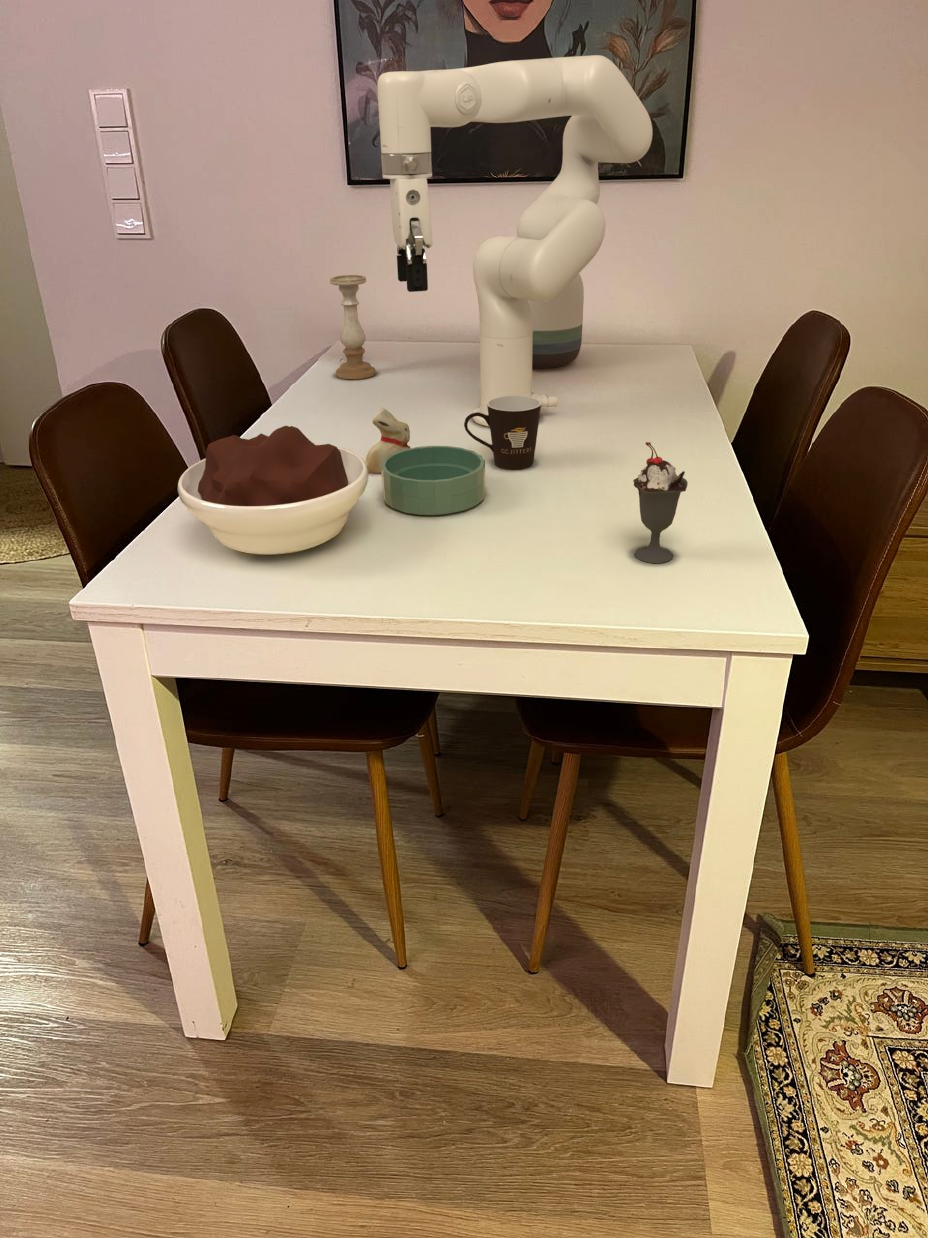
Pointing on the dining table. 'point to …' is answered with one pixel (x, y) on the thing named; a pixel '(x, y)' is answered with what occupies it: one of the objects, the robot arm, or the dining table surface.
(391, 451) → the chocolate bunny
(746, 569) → the dining table surface
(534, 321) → the vase
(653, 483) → the sundae
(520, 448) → the coffee mug
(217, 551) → the dining table surface
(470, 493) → the bowl
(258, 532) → the cream round dish
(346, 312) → the candle holder
